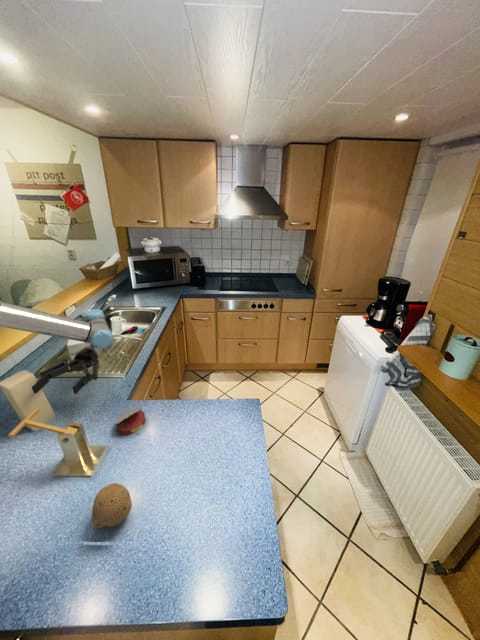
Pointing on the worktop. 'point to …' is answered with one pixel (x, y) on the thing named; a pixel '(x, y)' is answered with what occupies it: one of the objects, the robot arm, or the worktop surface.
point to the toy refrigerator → (27, 397)
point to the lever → (40, 425)
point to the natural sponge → (111, 505)
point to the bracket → (77, 454)
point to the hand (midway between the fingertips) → (54, 390)
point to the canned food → (130, 421)
